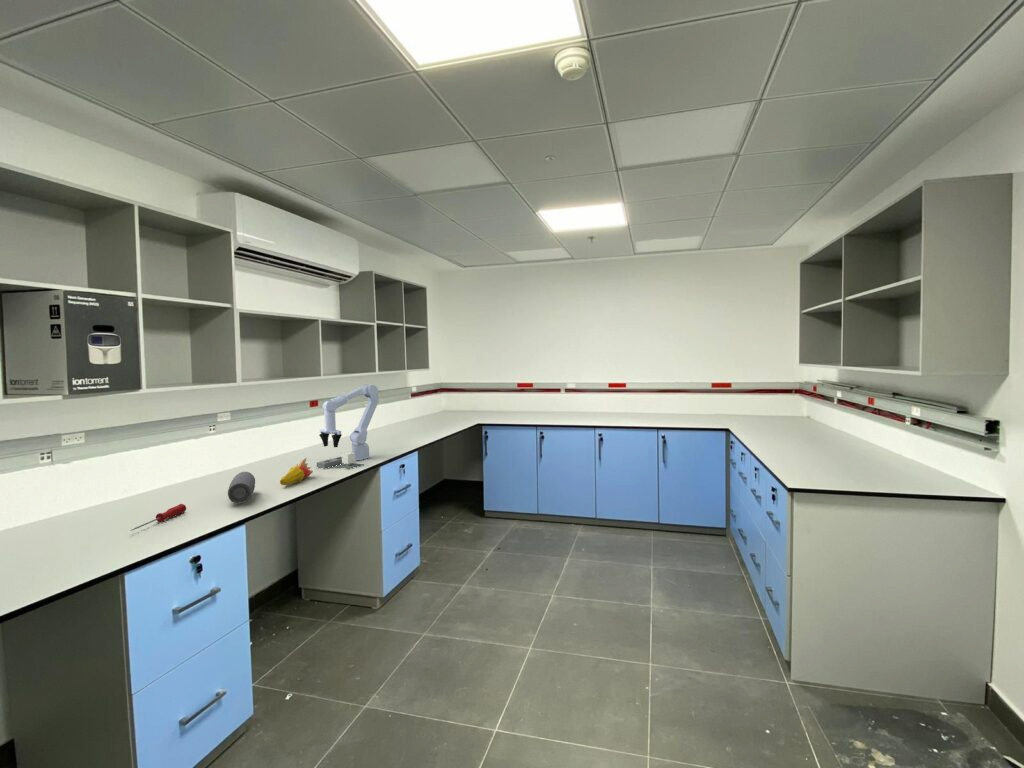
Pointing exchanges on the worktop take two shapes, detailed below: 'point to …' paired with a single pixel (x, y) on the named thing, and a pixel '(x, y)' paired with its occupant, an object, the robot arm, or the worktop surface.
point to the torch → (296, 473)
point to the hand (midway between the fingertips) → (330, 446)
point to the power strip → (330, 462)
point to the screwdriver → (167, 514)
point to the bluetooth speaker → (241, 487)
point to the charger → (348, 458)
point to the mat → (348, 466)
